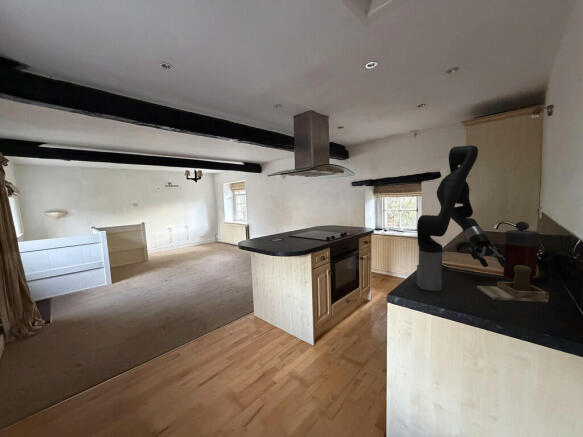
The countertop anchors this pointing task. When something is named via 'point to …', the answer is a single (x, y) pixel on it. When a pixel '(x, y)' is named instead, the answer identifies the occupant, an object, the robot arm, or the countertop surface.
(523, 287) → the olive yellow waisted cylinder
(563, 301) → the countertop surface
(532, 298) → the socket board
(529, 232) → the red coffee grinder
